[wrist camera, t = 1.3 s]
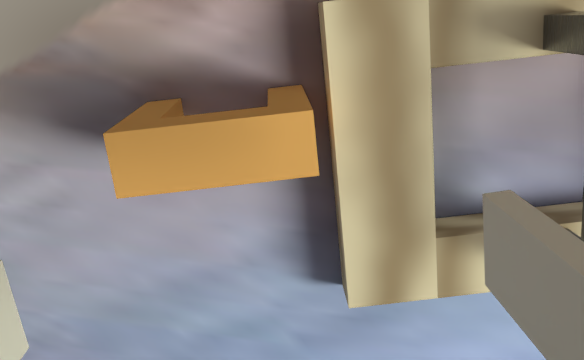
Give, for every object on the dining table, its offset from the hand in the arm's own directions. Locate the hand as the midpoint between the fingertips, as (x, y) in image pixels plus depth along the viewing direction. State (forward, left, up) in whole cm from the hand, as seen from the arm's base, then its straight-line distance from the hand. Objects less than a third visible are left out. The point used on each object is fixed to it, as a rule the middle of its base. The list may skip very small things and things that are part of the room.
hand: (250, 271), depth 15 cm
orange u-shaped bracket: (-2, +1, -19) cm, 19 cm away
